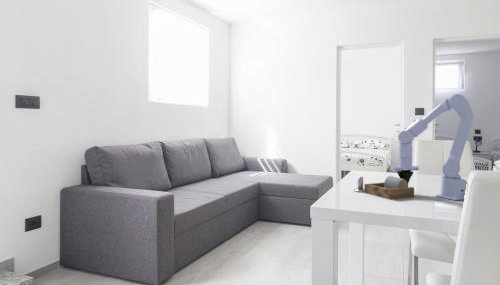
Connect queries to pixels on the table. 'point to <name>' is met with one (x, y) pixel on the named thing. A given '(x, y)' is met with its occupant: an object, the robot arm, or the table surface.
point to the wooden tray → (388, 191)
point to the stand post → (360, 185)
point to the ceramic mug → (395, 183)
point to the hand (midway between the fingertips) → (404, 186)
